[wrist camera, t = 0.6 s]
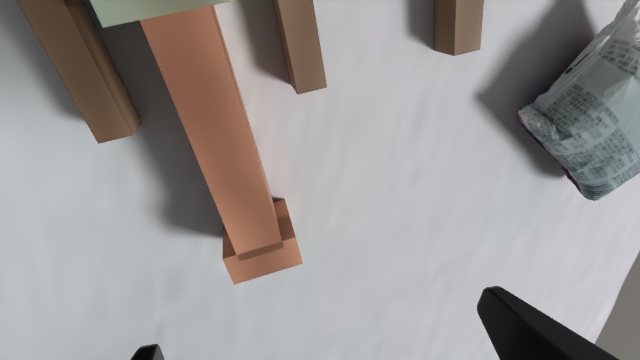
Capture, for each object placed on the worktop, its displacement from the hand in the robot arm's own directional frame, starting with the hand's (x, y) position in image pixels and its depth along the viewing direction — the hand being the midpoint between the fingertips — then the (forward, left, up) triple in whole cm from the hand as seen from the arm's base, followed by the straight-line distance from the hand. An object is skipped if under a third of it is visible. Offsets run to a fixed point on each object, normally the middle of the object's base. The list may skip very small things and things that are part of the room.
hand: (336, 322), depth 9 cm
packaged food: (+22, -3, -13) cm, 25 cm away
